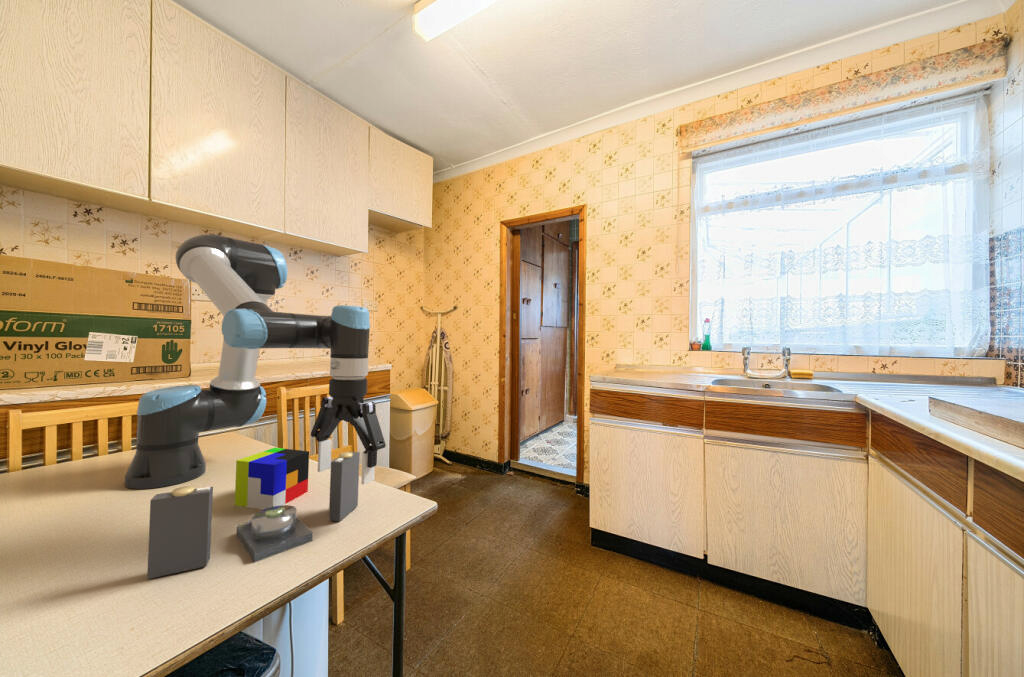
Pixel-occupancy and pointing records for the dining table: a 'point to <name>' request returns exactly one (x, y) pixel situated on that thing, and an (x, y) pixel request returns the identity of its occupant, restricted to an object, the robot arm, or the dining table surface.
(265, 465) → the puzzle toy
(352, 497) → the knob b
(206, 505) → the dark grey flat block
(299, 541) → the levelling plate
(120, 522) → the dining table surface
